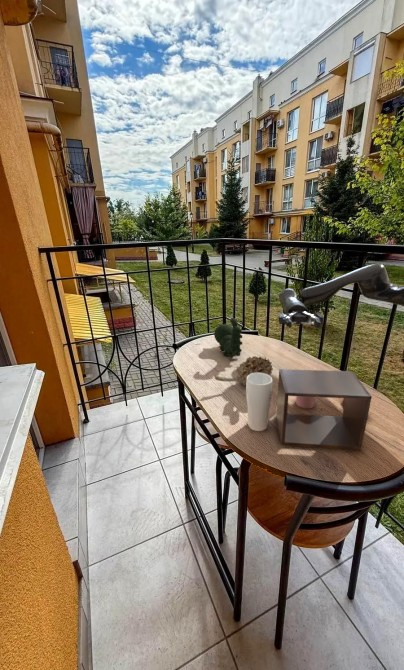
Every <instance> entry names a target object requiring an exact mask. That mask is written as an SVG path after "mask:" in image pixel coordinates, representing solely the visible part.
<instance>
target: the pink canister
mask: <svg viewBox="0 0 404 670" xmlns="http://www.w3.org/2000/svg"><path fill="white" fill-rule="evenodd" d="M315 398H316V397H305V396H295V404H296V406H298V407H299V408H302V409H312V408H313V407H314V406H315Z"/></svg>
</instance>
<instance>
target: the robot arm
mask: <svg viewBox="0 0 404 670" xmlns="http://www.w3.org/2000/svg"><path fill="white" fill-rule="evenodd" d="M355 283H357V286H358V288H359V291H360V293H361V295H362V296H363V297H365V298H366V299H369V300H374V301H377V302H378V301H379V302H386V303H388V304H389V303H390V304H393V305H397V306H401V307H404V286H400V285H395V284H393V283H391V281H390V278H389V275H388V272H387V269H386V267H385V266H384V265H383V264H382V263H374V264H369V265H366V266H363V267H360V268H357V269H355V270H353V271H350V272H348V273H346V274H343V275H341V276H339V277H336V278H333V279H332V280H329V281H327V282H324V283H320V284H317V285H313V286H309V287H305V288H303V289H301V291H300V299H299V297H298V295H297V293H296V291H295V290H294V289H292V288H285V289H282V290H281V291H280V292H279V294H278V300H279V302H280V306H281V308H282V310H283V312H284V313H283V312H279V313H278V324H279V325H283V324H284V326H286V328H287V327H288V329H292V325H302V324H306V325H308V326H309V325H313V326H314V327H315V329H320V328H321V326H322V325H324V319H325V317H324V316H323V315H322V314H321V313H320V312H315V314H312V313H310V312H309V310H308V308H307V307H308V306H312V305H316V304H320V303H324V302H326V301H328V300H330V299H331V298H333V297H334V296H335V295H336V294H337V293H338V292H340V291H341V290H342V289H344V288H345V287H347V286H348V285H349V286H350V285H352V284H355Z"/></svg>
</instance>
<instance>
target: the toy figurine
mask: <svg viewBox="0 0 404 670" xmlns="http://www.w3.org/2000/svg"><path fill="white" fill-rule="evenodd" d="M230 324H231V325H229V324H227V323H222V324H220V323H219V324H218V326H217V327H216V328H215V330H214V332H213V335H214V340H215V341H216V342H217V343H218V344H219V351H220V352H223V356H226V357H228V358H232V356H234V355H235V356H236V357H241V353H242V348H241V346H242V345H243V344H244V343H243V341H242V340H241V339H243V334H241V333H242V332H243V330H242V329H241V327H240V326H238V324H239V323H238V320H237V319H236V318H235V317H232V318H230Z"/></svg>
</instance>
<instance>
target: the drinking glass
mask: <svg viewBox="0 0 404 670" xmlns="http://www.w3.org/2000/svg"><path fill="white" fill-rule="evenodd" d="M272 394H273V377H272V376H271V375H270V376H269V375H268V374H265V373H252V374H249V375H248V376H247V379H246V385H245V397H246V398H245V399H246V409H247V410H246V411H247V425H248V427H249V428H250V429H251V430H252V431H254V432H263V431H265V430H266V429H267V428H268V424H269V414H270V408H271V402H272V396H273V395H272Z"/></svg>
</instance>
